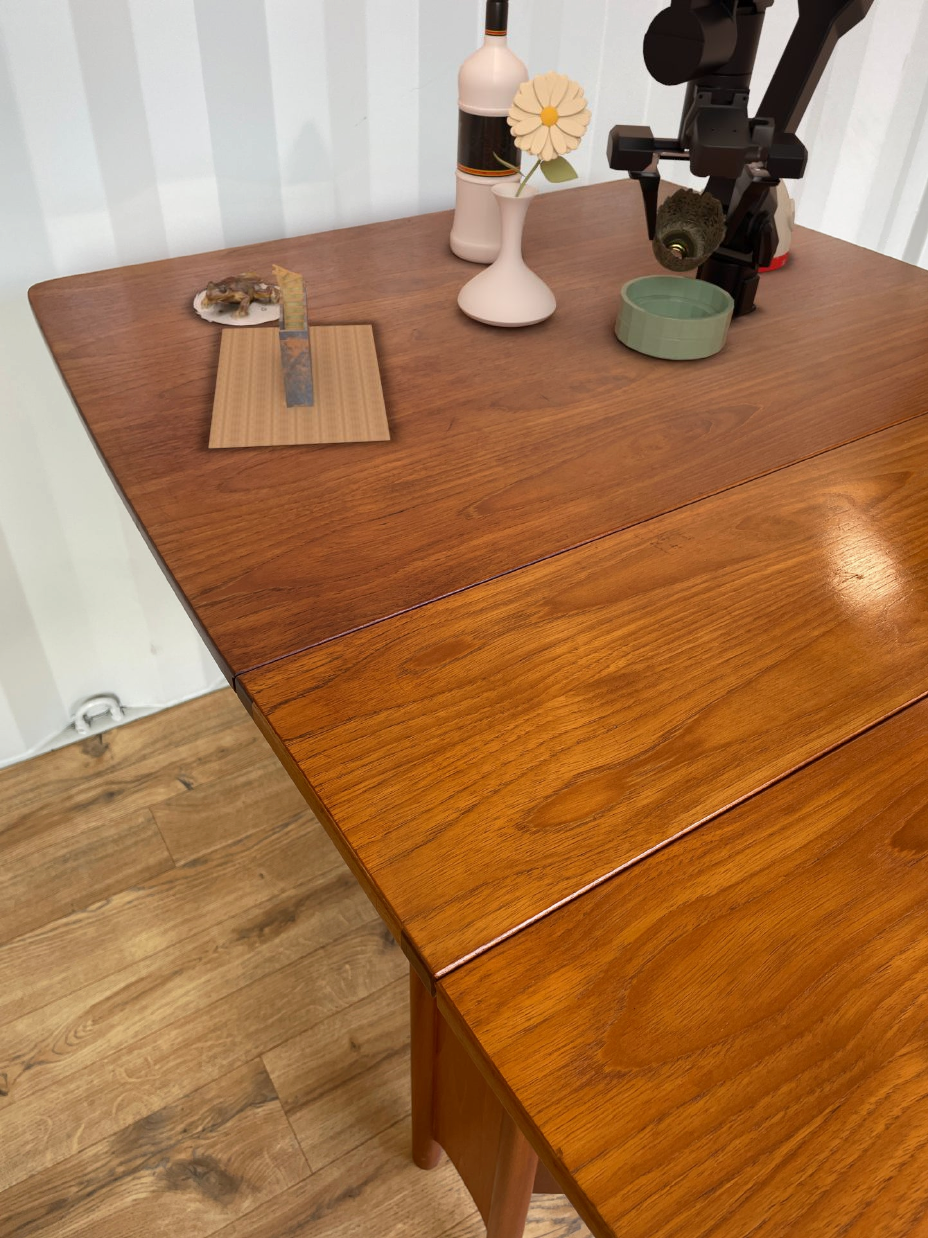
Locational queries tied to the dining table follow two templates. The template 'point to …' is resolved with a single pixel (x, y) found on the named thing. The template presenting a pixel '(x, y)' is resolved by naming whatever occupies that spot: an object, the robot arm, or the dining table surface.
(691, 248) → the cup
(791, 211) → the kitchen timer
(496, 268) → the flower in vase
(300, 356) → the ruin model on sheet
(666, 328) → the bowl
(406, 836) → the dining table surface
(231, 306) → the frog figurine
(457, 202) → the vodka
